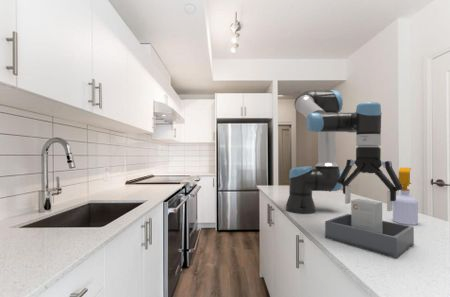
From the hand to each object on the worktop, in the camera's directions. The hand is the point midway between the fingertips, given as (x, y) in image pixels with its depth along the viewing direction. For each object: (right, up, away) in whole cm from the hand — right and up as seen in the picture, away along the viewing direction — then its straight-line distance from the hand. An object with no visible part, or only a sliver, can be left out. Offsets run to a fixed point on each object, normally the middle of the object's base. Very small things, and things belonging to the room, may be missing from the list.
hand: (367, 206), depth 86 cm
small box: (0, -11, 0) cm, 11 cm away
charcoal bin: (0, -12, -1) cm, 12 cm away
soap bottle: (+31, -13, +23) cm, 41 cm away
